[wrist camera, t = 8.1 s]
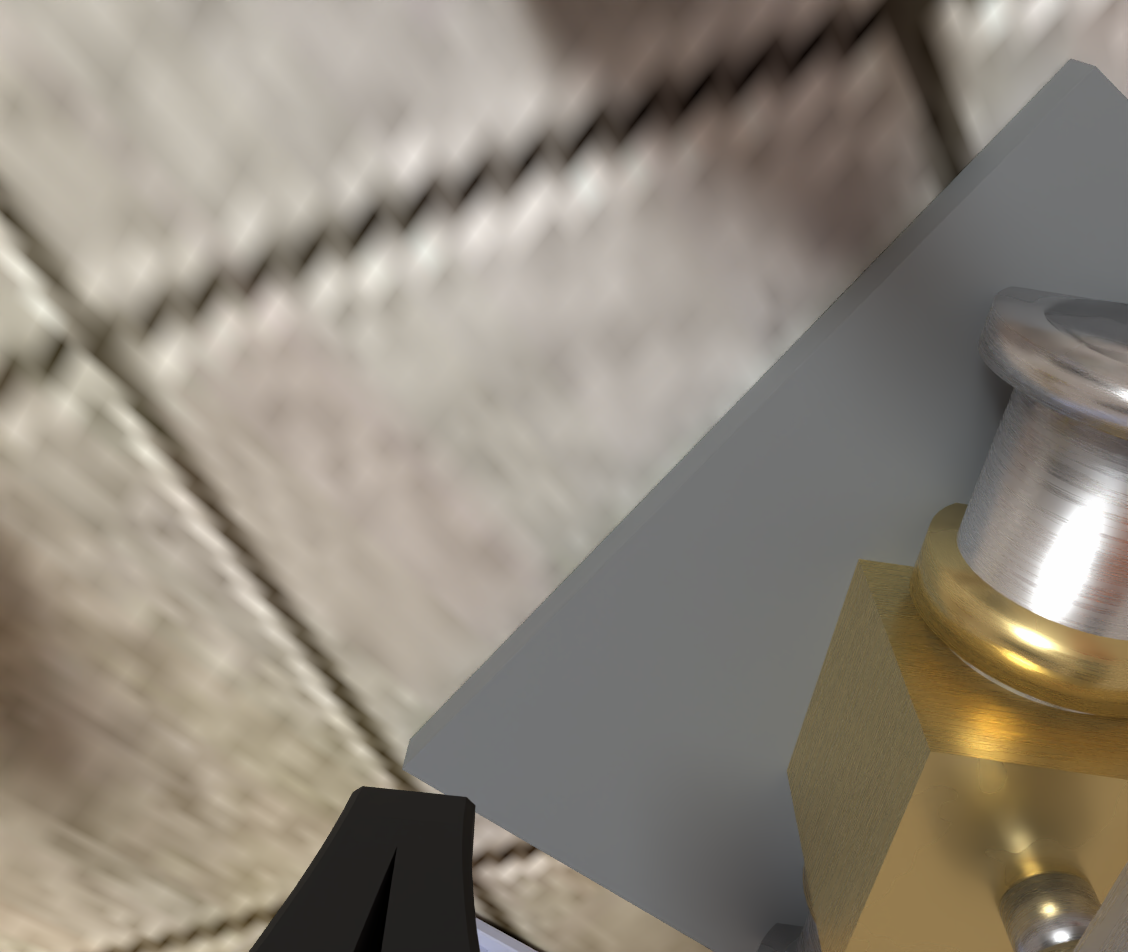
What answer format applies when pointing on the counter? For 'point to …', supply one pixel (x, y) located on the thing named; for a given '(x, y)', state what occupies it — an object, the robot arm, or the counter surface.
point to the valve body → (985, 679)
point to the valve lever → (1104, 924)
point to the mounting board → (777, 549)
